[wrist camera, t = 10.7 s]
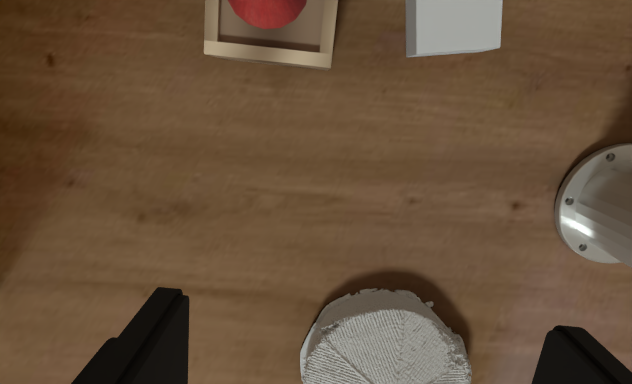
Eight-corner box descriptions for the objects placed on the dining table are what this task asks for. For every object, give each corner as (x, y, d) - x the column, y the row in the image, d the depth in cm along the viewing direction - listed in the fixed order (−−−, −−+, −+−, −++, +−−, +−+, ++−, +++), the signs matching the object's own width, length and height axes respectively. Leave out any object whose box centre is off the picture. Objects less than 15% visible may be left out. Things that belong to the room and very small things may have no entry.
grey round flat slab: (264, 373, 47) (255, 421, 41) (368, 253, 42) (377, 285, 36) (391, 450, 50) (401, 506, 44) (500, 347, 46) (531, 392, 39)
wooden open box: (341, -47, 34) (346, -77, 28) (328, 70, 37) (330, 67, 31) (228, -61, 34) (207, -94, 28) (223, 59, 37) (203, 53, 31)
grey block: (484, -32, 35) (504, -46, 31) (480, 51, 37) (500, 47, 33) (405, -25, 35) (416, -39, 31) (406, 57, 37) (416, 54, 33)
